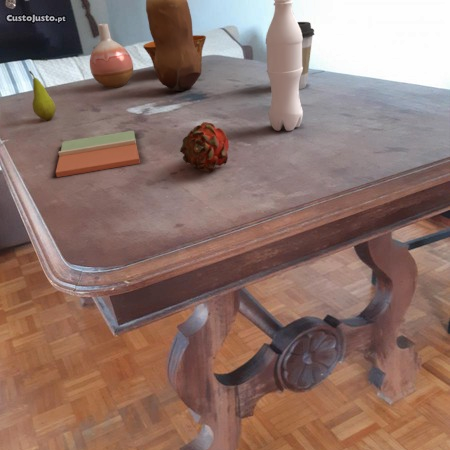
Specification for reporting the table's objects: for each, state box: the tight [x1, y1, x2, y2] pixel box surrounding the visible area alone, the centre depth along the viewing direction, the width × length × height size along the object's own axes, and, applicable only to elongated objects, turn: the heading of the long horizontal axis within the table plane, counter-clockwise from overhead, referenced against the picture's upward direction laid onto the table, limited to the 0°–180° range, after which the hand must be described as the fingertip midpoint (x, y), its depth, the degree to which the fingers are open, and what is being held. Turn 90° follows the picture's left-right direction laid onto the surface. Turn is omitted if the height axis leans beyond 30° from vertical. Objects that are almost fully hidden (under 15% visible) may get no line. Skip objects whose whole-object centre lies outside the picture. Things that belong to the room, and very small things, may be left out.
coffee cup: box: [297, 21, 315, 90], centre depth 126 cm, size 11×11×15 cm
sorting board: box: [55, 129, 140, 178], centre depth 99 cm, size 16×20×2 cm
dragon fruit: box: [179, 121, 230, 173], centre depth 85 cm, size 8×8×12 cm
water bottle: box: [265, 0, 304, 132], centre depth 94 cm, size 7×7×25 cm
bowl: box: [142, 34, 207, 69], centre depth 160 cm, size 21×21×10 cm
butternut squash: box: [145, 0, 203, 92], centre depth 133 cm, size 14×13×25 cm
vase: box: [89, 23, 134, 89], centre depth 150 cm, size 14×14×18 cm
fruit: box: [29, 70, 56, 121], centre depth 124 cm, size 6×6×12 cm
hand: (17, 3), depth 109 cm, fingers open, 8 cm apart
